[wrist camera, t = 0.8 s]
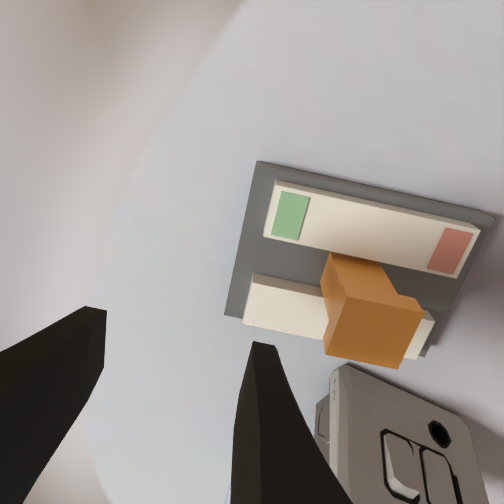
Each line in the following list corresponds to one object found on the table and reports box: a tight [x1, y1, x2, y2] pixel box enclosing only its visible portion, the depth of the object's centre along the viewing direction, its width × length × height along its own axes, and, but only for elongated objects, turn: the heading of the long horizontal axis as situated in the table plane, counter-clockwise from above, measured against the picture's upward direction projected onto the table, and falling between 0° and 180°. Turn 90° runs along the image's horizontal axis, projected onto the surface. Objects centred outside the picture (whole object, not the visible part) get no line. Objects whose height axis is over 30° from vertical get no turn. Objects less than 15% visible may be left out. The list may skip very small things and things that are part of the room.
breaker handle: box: [320, 251, 424, 369], centre depth 16 cm, size 3×3×5 cm
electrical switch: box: [314, 365, 489, 504], centre depth 20 cm, size 9×5×9 cm, turn 63°
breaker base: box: [224, 161, 495, 360], centre depth 18 cm, size 8×11×2 cm
